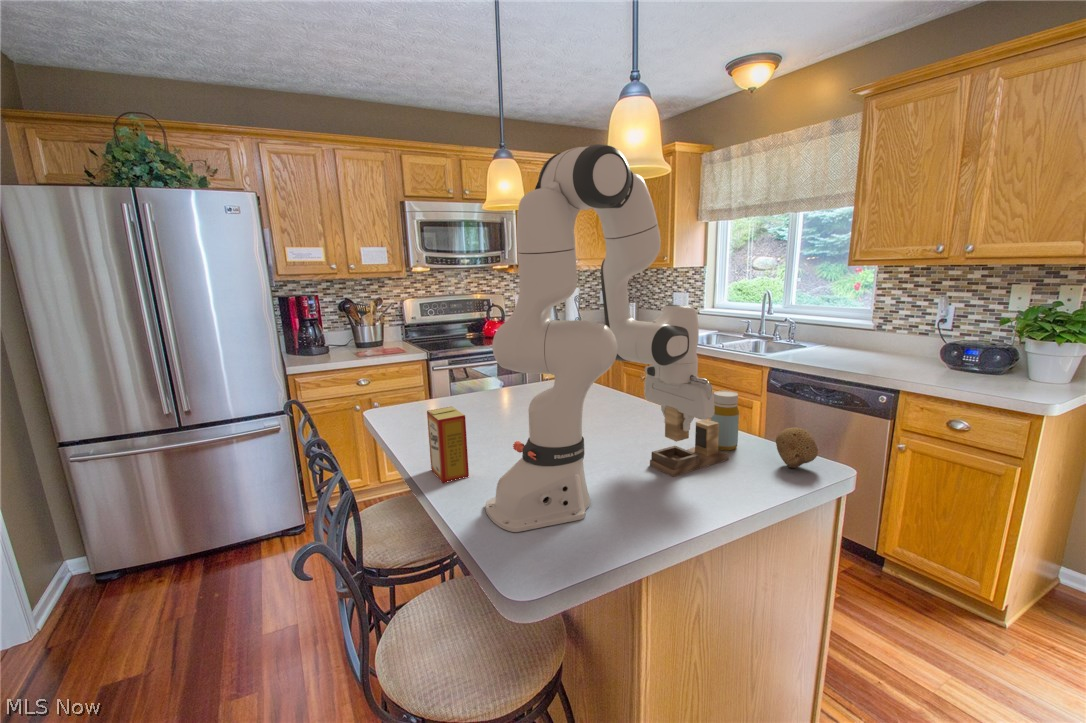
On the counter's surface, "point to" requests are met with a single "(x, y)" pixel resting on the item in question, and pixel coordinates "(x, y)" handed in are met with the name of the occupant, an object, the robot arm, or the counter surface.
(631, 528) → the counter surface
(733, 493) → the counter surface
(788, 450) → the natural sponge
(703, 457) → the wooden block holder
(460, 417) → the baking soda box
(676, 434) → the block
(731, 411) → the bottle
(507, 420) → the counter surface
